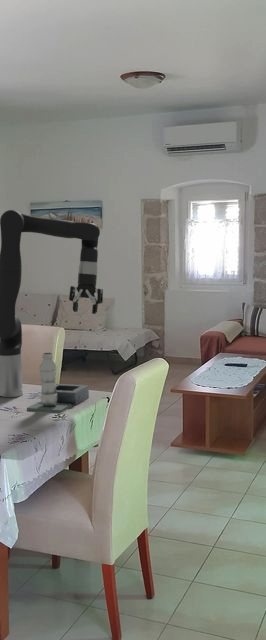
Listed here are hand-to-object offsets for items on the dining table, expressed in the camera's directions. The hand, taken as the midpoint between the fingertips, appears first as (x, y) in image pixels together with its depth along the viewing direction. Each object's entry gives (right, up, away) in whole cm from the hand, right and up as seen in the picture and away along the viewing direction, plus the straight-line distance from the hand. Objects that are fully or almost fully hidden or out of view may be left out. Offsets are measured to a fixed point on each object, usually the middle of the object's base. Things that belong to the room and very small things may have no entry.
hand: (84, 312), depth 264 cm
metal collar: (-7, -35, -8) cm, 36 cm away
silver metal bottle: (-12, -36, -20) cm, 42 cm away
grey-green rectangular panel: (-12, -36, -20) cm, 43 cm away
